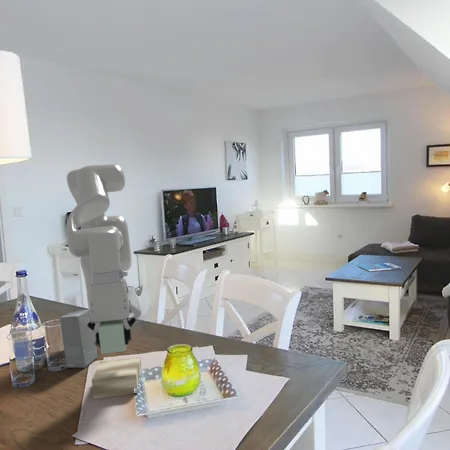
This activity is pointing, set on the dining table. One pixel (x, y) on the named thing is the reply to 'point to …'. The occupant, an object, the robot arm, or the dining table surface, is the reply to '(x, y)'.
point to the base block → (116, 377)
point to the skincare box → (78, 339)
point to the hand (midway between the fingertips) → (114, 343)
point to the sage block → (112, 337)
